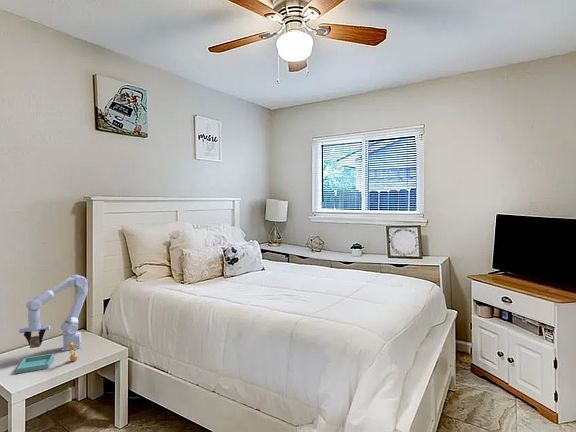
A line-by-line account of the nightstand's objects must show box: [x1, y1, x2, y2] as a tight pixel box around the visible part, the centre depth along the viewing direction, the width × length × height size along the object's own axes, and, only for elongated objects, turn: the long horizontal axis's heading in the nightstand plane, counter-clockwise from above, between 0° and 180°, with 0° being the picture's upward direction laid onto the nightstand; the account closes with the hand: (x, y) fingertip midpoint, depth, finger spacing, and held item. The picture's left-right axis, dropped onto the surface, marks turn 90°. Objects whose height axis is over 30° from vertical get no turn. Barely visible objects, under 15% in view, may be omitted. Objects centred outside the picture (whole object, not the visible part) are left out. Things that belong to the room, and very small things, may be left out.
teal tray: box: [15, 353, 55, 375], centre depth 195 cm, size 14×14×2 cm
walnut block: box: [29, 335, 43, 349], centre depth 203 cm, size 4×4×5 cm
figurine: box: [64, 341, 81, 362], centre depth 199 cm, size 8×6×12 cm
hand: (35, 343), depth 204 cm, fingers closed on walnut block, 4 cm apart
